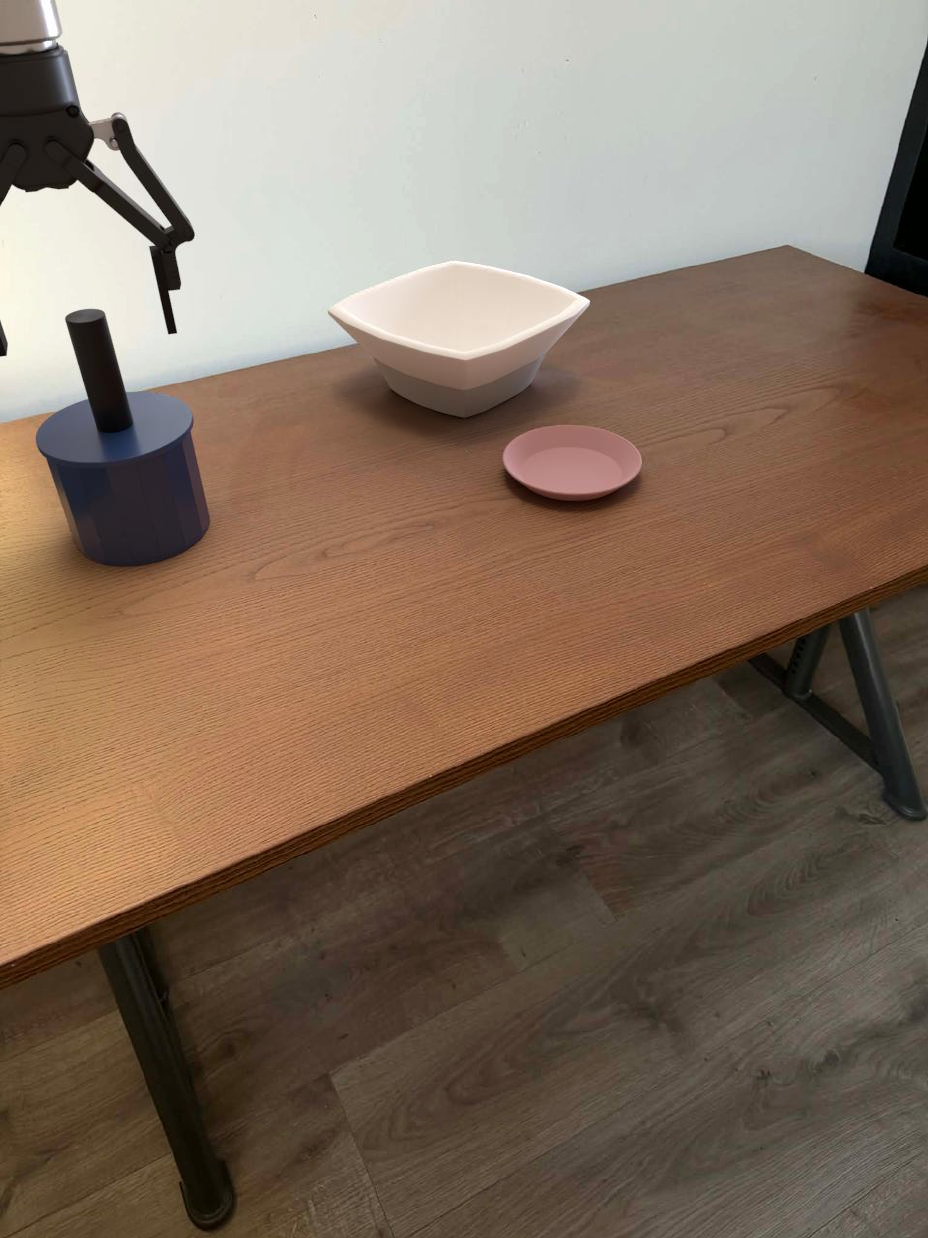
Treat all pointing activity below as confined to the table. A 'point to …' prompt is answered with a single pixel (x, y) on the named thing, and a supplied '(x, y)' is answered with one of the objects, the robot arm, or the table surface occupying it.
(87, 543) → the pot
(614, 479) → the plate
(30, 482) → the table surface
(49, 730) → the table surface
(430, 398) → the bowl
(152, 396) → the lid
